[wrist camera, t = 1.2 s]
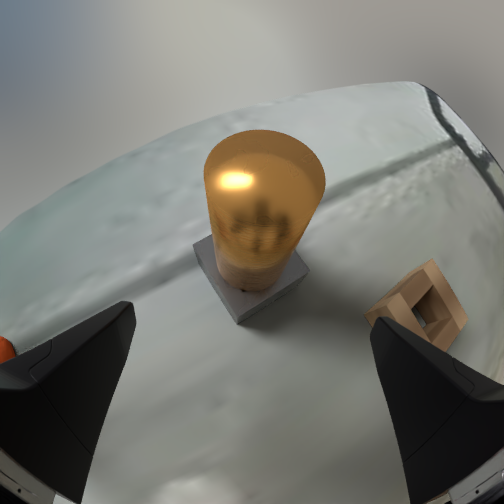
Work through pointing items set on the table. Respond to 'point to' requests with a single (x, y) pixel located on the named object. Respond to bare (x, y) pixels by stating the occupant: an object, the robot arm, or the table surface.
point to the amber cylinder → (260, 203)
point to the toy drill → (6, 350)
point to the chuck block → (247, 301)
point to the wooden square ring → (423, 306)
